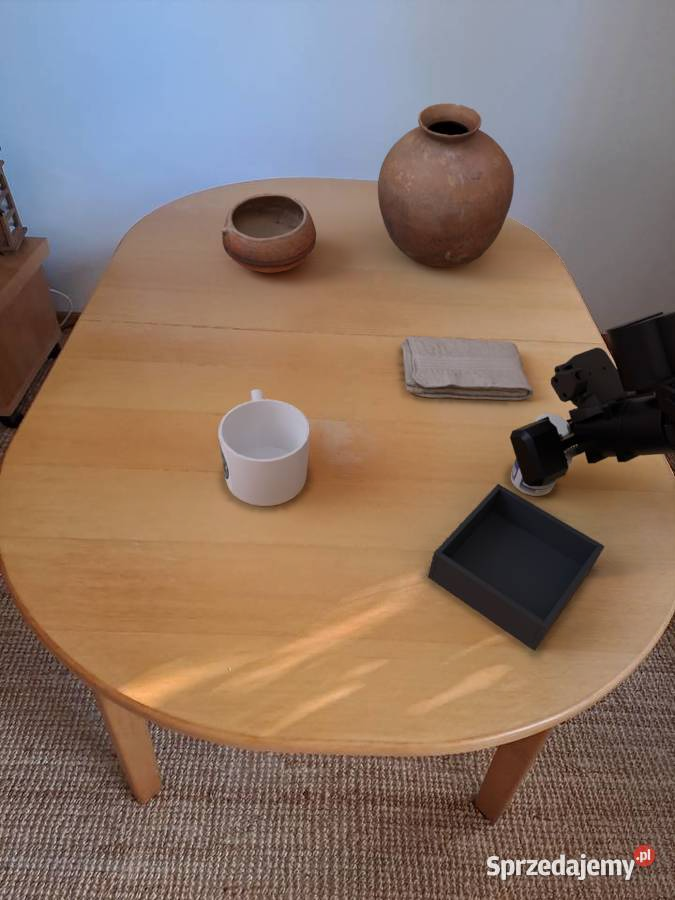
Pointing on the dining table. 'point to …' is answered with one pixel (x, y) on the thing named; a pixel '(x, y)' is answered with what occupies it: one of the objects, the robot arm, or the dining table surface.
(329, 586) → the dining table surface
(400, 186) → the pottery
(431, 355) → the washcloth
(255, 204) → the bowl
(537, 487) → the pill bottle
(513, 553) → the black square tray
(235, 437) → the mug
